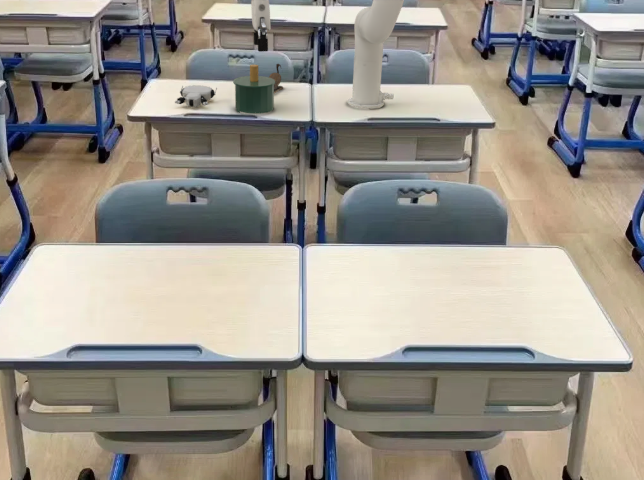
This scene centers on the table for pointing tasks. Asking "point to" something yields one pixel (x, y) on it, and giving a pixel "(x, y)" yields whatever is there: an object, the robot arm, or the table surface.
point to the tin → (254, 99)
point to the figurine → (276, 79)
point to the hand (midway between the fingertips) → (260, 47)
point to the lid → (254, 79)
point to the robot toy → (196, 95)
